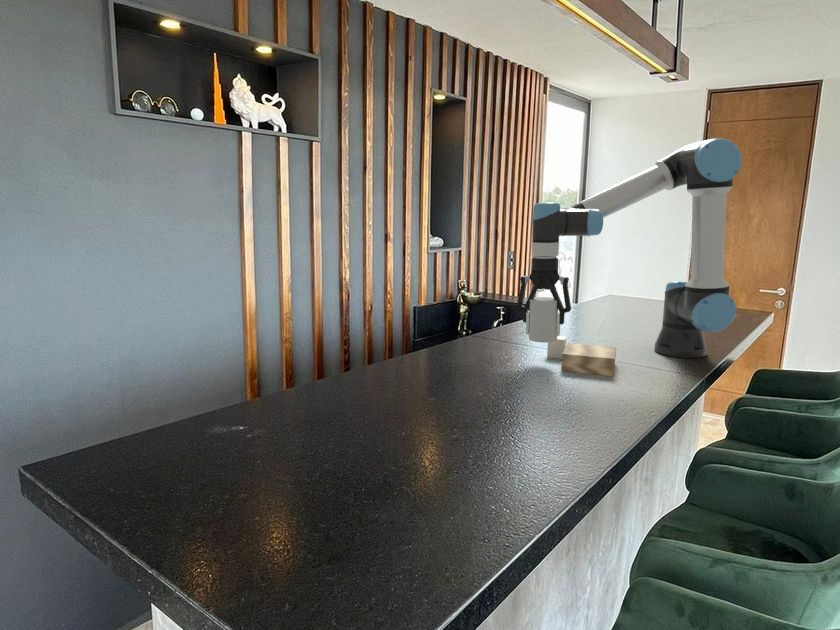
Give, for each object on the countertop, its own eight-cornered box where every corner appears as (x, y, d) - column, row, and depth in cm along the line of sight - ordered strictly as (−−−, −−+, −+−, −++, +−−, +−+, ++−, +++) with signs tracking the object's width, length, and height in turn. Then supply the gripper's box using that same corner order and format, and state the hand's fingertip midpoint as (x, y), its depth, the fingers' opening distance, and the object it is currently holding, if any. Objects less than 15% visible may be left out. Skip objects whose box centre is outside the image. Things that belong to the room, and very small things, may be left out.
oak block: (614, 363, 173) (616, 347, 172) (613, 376, 160) (614, 358, 159) (566, 358, 178) (567, 343, 177) (561, 370, 165) (562, 353, 164)
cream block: (565, 355, 183) (566, 336, 182) (563, 358, 178) (564, 339, 177) (549, 353, 185) (550, 335, 184) (547, 357, 180) (548, 338, 179)
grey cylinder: (554, 336, 175) (556, 297, 173) (558, 342, 167) (560, 301, 165) (527, 336, 176) (528, 296, 174) (530, 342, 168) (531, 301, 166)
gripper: (583, 256, 167) (580, 333, 171) (511, 255, 174) (510, 329, 178) (581, 259, 160) (578, 339, 164) (506, 257, 167) (505, 334, 171)
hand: (542, 334), depth 171 cm, fingers closed on grey cylinder, 8 cm apart
